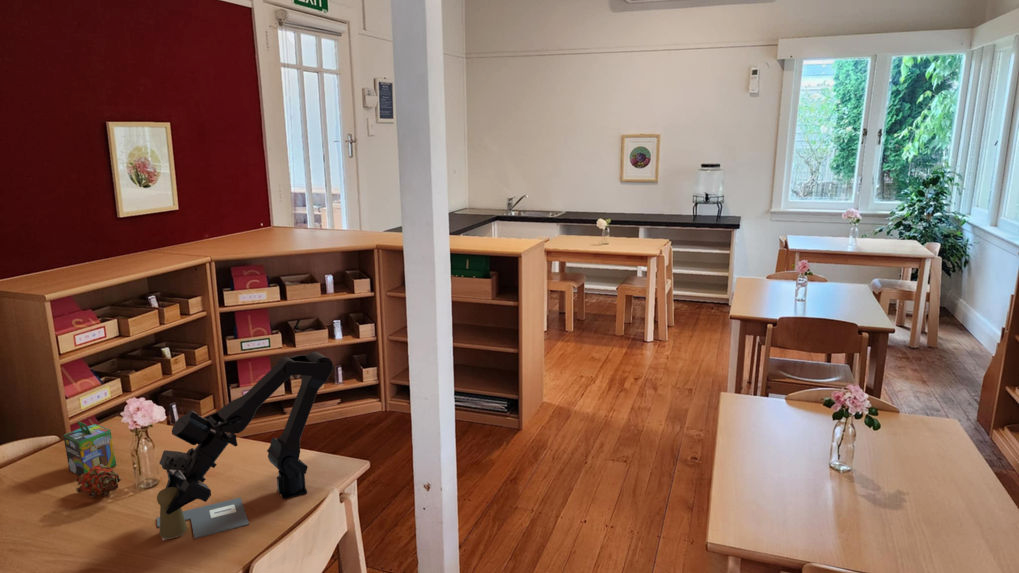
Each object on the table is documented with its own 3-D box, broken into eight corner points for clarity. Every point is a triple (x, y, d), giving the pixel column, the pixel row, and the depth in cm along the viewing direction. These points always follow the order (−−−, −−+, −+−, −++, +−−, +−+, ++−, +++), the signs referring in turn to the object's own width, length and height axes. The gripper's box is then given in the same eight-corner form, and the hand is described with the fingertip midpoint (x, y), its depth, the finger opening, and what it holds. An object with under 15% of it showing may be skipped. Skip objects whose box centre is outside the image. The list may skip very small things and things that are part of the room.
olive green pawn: (176, 539, 160) (170, 498, 158) (153, 536, 162) (148, 495, 159) (192, 525, 166) (187, 484, 164) (171, 522, 167) (165, 482, 165)
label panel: (240, 498, 180) (240, 496, 180) (249, 524, 168) (249, 523, 168) (156, 518, 170) (156, 517, 170) (159, 548, 158) (159, 546, 158)
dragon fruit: (120, 503, 180) (83, 503, 183) (134, 473, 186) (98, 474, 188) (98, 489, 174) (60, 490, 177) (114, 459, 179) (77, 460, 182)
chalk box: (117, 466, 196) (110, 419, 193) (84, 479, 189) (76, 430, 186) (100, 458, 201) (94, 412, 198) (67, 470, 194) (60, 423, 190)
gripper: (168, 425, 168) (125, 480, 164) (191, 452, 154) (144, 512, 150) (205, 444, 175) (164, 497, 170) (229, 472, 161) (186, 530, 157)
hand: (164, 508), depth 162 cm, fingers closed on olive green pawn, 5 cm apart
